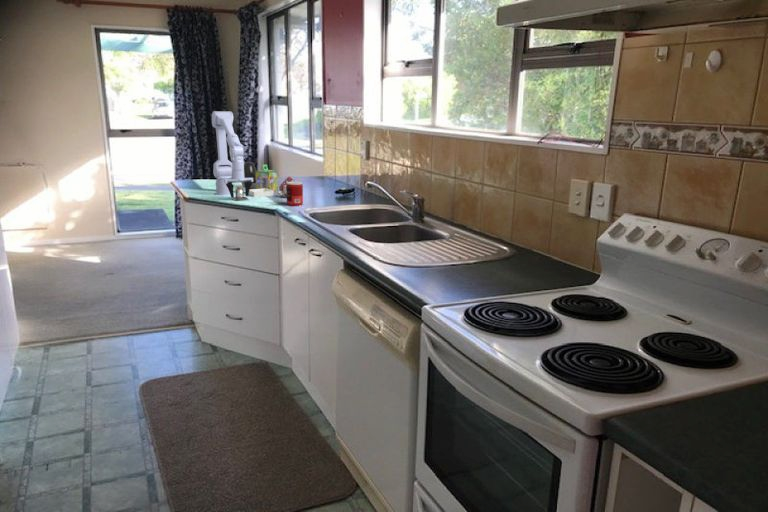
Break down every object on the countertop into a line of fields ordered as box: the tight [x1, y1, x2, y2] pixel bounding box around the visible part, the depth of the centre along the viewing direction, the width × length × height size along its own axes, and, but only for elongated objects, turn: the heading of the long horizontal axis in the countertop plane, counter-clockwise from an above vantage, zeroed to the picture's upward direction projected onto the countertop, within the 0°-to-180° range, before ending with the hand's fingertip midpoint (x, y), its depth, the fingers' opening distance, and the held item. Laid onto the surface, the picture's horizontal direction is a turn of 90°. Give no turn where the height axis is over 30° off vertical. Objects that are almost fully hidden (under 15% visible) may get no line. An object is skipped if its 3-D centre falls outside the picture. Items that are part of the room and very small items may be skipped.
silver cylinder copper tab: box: [234, 185, 245, 200], centre depth 293 cm, size 4×4×6 cm
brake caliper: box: [277, 175, 296, 199], centre depth 304 cm, size 11×11×12 cm
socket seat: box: [229, 196, 250, 202], centre depth 294 cm, size 8×8×1 cm
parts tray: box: [248, 188, 275, 198], centre depth 310 cm, size 11×11×3 cm
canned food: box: [286, 181, 304, 207], centre depth 282 cm, size 8×8×11 cm
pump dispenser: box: [240, 161, 257, 189], centre depth 336 cm, size 10×10×15 cm
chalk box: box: [255, 164, 279, 192], centre depth 325 cm, size 9×9×15 cm
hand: (239, 196), depth 293 cm, fingers open, 7 cm apart
